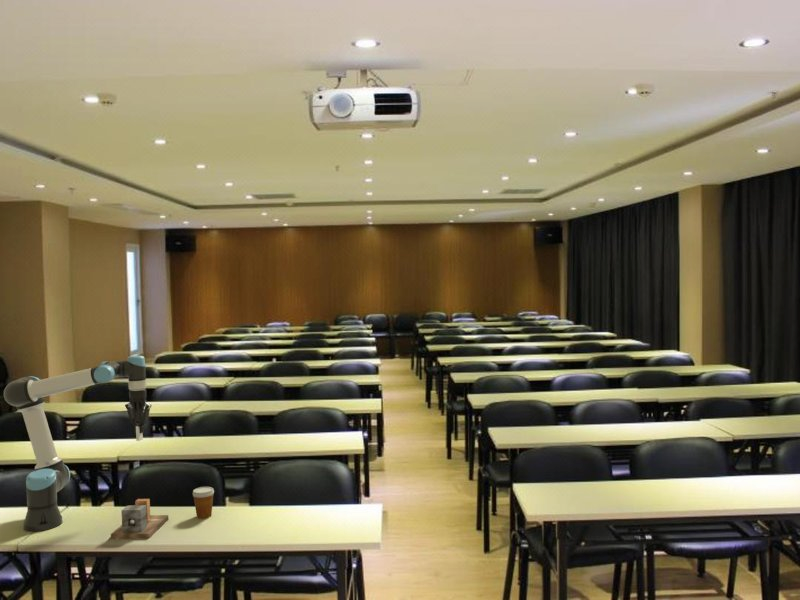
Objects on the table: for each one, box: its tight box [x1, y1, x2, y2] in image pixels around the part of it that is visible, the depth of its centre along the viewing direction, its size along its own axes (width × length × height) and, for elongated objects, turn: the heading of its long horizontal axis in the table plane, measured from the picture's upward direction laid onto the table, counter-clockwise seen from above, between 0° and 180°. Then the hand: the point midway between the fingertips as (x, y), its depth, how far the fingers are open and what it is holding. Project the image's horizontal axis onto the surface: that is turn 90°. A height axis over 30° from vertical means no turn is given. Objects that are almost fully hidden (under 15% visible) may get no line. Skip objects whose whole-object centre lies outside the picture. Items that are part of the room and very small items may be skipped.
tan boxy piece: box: [129, 498, 151, 525], centre depth 297 cm, size 5×13×9 cm, turn 178°
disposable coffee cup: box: [192, 486, 215, 520], centre depth 313 cm, size 10×10×12 cm
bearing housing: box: [110, 504, 170, 540], centre depth 299 cm, size 16×22×11 cm
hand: (139, 439), depth 324 cm, fingers closed
